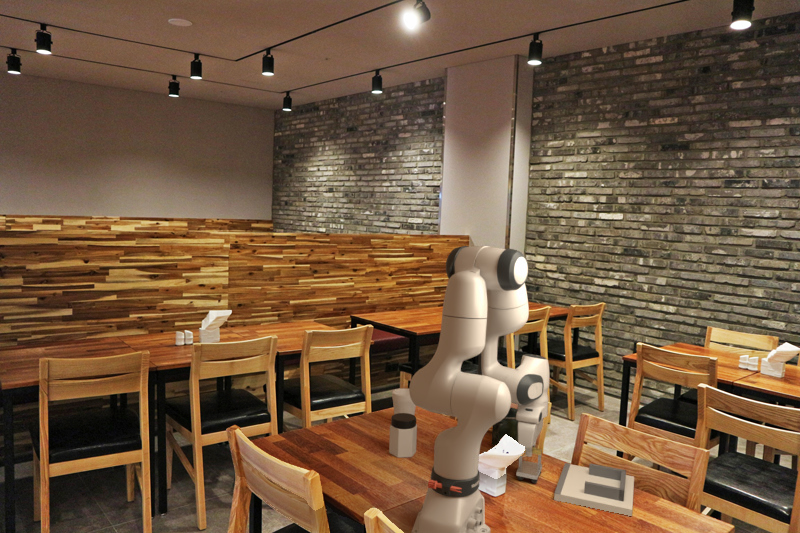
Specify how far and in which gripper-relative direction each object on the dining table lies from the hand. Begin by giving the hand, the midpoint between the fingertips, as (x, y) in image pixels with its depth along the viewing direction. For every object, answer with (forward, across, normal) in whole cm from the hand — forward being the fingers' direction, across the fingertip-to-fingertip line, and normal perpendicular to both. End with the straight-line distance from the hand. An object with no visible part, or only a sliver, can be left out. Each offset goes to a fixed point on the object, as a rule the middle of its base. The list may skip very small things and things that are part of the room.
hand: (530, 453), depth 171 cm
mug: (+8, -19, -12) cm, 24 cm away
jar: (+8, +1, -41) cm, 42 cm away
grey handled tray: (+8, 0, 0) cm, 8 cm away
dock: (+8, 0, +19) cm, 20 cm away
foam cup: (+8, -21, -50) cm, 55 cm away
